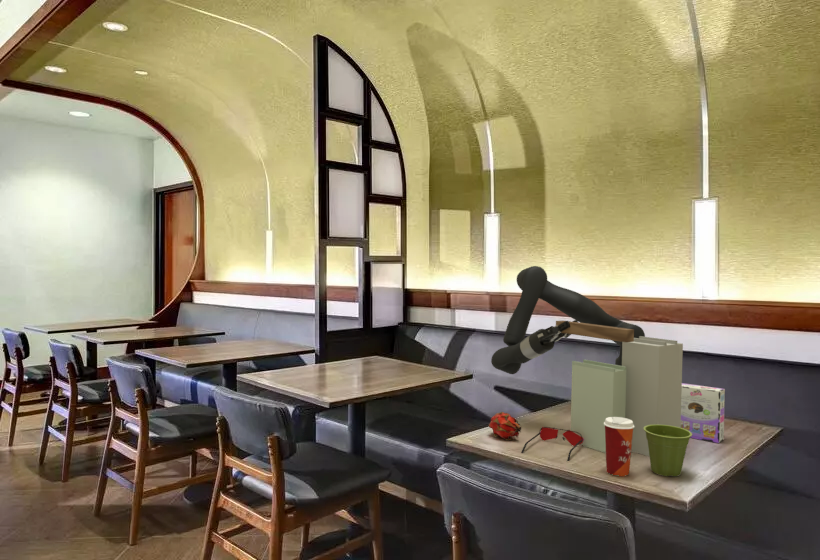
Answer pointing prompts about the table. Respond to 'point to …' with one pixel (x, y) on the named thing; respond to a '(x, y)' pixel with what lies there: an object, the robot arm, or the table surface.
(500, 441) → the table surface
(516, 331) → the robot arm
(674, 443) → the plant pot
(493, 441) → the table surface
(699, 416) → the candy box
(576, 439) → the glasses
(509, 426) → the dragon fruit
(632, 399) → the grey stand
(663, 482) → the table surface
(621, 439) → the paper cup
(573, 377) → the sage box
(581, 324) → the walnut bar
